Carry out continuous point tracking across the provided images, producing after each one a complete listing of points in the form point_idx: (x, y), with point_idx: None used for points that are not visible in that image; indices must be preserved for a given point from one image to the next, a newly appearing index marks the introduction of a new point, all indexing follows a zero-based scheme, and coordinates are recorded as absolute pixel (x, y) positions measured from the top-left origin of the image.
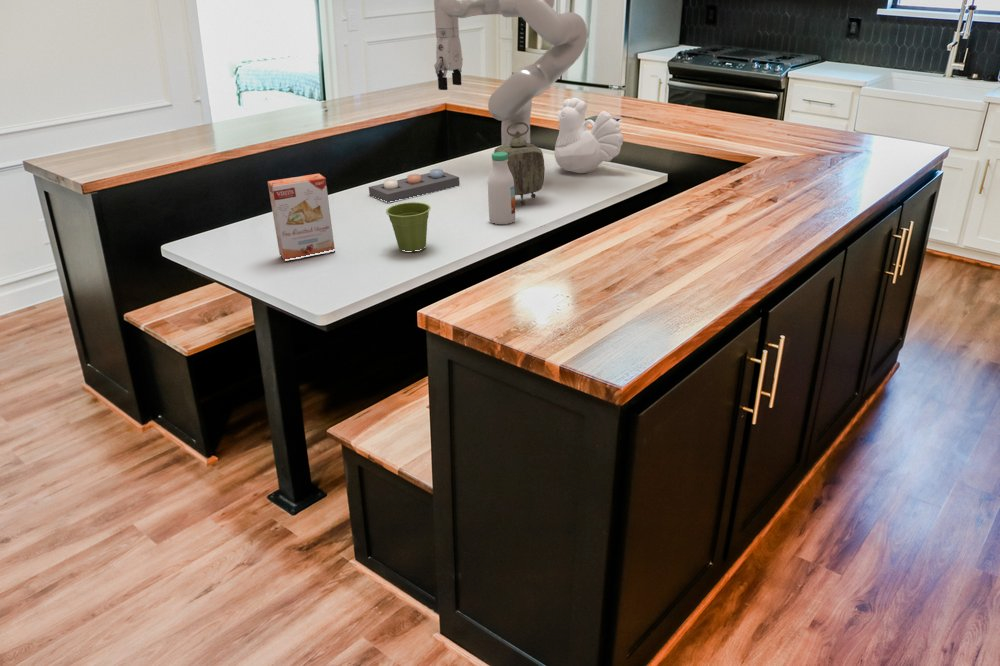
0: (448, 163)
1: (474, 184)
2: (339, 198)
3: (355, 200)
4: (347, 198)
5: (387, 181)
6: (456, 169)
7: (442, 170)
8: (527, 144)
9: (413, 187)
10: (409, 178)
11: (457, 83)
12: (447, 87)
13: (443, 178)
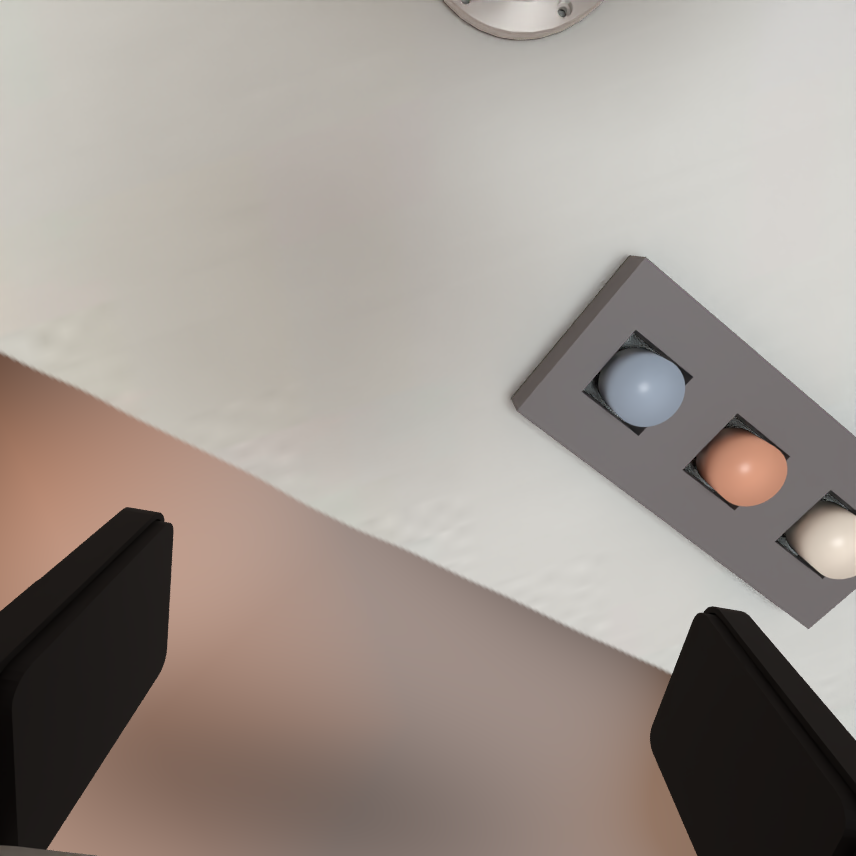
0: (218, 448)
1: (601, 178)
2: None
3: (846, 632)
4: (814, 668)
5: (845, 563)
6: (322, 371)
7: (642, 360)
8: None
9: (839, 434)
10: (779, 484)
11: (161, 585)
12: (732, 625)
13: (675, 336)
